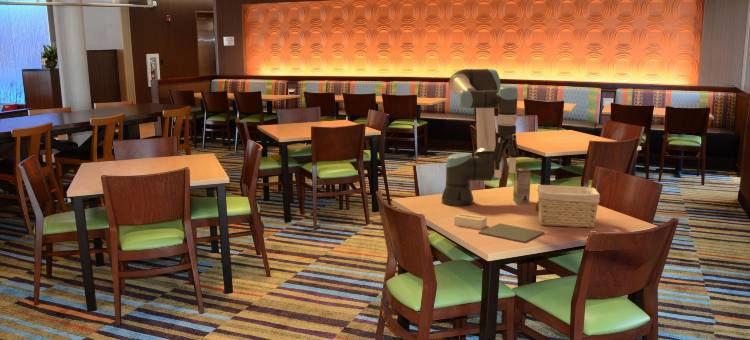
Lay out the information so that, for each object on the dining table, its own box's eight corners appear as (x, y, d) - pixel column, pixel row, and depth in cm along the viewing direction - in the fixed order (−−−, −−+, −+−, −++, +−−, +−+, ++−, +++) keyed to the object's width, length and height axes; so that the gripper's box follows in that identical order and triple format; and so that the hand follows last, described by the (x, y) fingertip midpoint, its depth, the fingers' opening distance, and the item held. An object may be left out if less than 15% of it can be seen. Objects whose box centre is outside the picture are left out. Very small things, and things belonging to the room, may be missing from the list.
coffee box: (512, 200, 317) (513, 167, 314) (525, 200, 317) (527, 167, 314) (516, 204, 308) (517, 171, 305) (529, 204, 308) (531, 171, 305)
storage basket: (592, 219, 282) (594, 186, 279) (598, 229, 266) (601, 194, 263) (535, 217, 286) (537, 184, 283) (538, 227, 270) (540, 192, 267)
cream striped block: (454, 225, 272) (454, 215, 272) (460, 222, 277) (460, 212, 277) (481, 229, 266) (481, 219, 265) (486, 226, 271) (486, 216, 270)
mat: (478, 233, 260) (478, 231, 260) (499, 224, 273) (499, 223, 272) (524, 242, 247) (524, 241, 247) (544, 233, 260) (544, 231, 260)
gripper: (501, 128, 258) (499, 180, 262) (527, 122, 278) (525, 171, 282) (484, 126, 263) (483, 178, 266) (511, 121, 282) (509, 169, 286)
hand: (505, 175), depth 274 cm, fingers open, 13 cm apart
